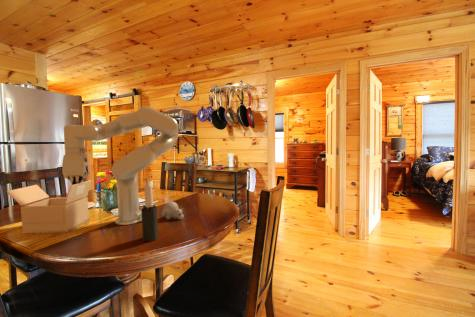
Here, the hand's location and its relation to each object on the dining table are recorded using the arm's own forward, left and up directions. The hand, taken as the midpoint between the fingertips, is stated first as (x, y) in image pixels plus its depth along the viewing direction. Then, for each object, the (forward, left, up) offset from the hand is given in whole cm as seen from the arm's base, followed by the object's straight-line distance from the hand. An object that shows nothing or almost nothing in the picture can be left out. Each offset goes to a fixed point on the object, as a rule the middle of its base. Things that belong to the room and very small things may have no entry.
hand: (76, 190), depth 109 cm
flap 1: (+21, 0, -1) cm, 21 cm away
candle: (-39, +18, -17) cm, 47 cm away
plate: (+24, -31, -18) cm, 43 cm away
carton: (+10, 0, -17) cm, 20 cm away
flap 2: (-1, 0, 0) cm, 1 cm away
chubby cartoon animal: (-43, -7, -17) cm, 47 cm away
